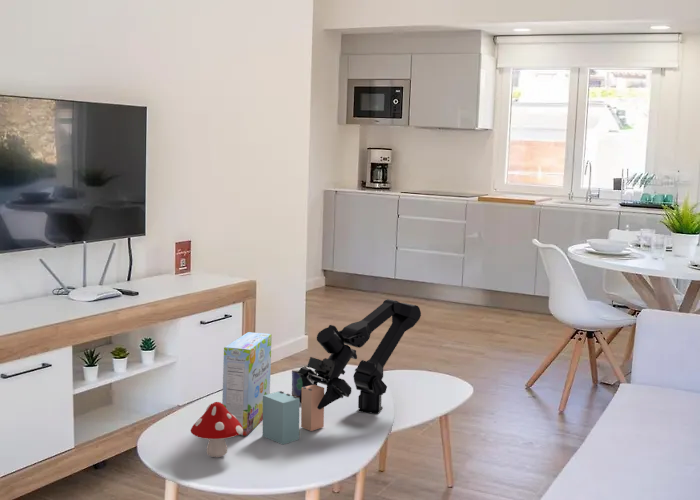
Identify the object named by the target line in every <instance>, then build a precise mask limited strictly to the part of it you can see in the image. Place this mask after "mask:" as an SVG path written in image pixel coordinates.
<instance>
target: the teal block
mask: <svg viewBox="0 0 700 500" xmlns="http://www.w3.org/2000/svg"><path fill="white" fill-rule="evenodd" d="M300 404H301V403H300V399H299V397H296V396H292V394H291V393H285V392H284V391H282V390H280V391H276V392H272V393H271V392H270V394H267V395H263V420H262V437H265V438H266V439H269V440H271V441H273V442H276V443H278V444H281V445H282V446H283V445H286V444H290V443H292V441H293V442H296V441H299V440H300ZM298 439H299V440H298ZM295 440H296V441H295Z"/></svg>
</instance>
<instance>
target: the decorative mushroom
mask: <svg viewBox="0 0 700 500" xmlns="http://www.w3.org/2000/svg"><path fill="white" fill-rule="evenodd" d="M205 409H206V410H205V411H204V412H203V415H201V417H199V419H197V421H196V422H195V423H193V425H192V427H191V429H190V434H192V435H193V436H195V437H196V438H197V437H198V438H200V439H202V440H203V439H205V440H208V443H207V446H206V454H207V455H208V456H209V457H212V458H221V457H224V456H226V454H227V453H228V446H227V443H226V439H230V438H233V437H235V436H241V435H240V434H242V433H243V427H242V425H241V423H240V422H239V421H238V420H237V418H236V417H235V416H234V415H232V414H231V413H230V412H229V411H228V410H227V409H226V407H225V406H224V405H223V404H222V403H221V402H219V401H215V402H213V403H211V404H209V405H208V406H207V407H206V408H205Z"/></svg>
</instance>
